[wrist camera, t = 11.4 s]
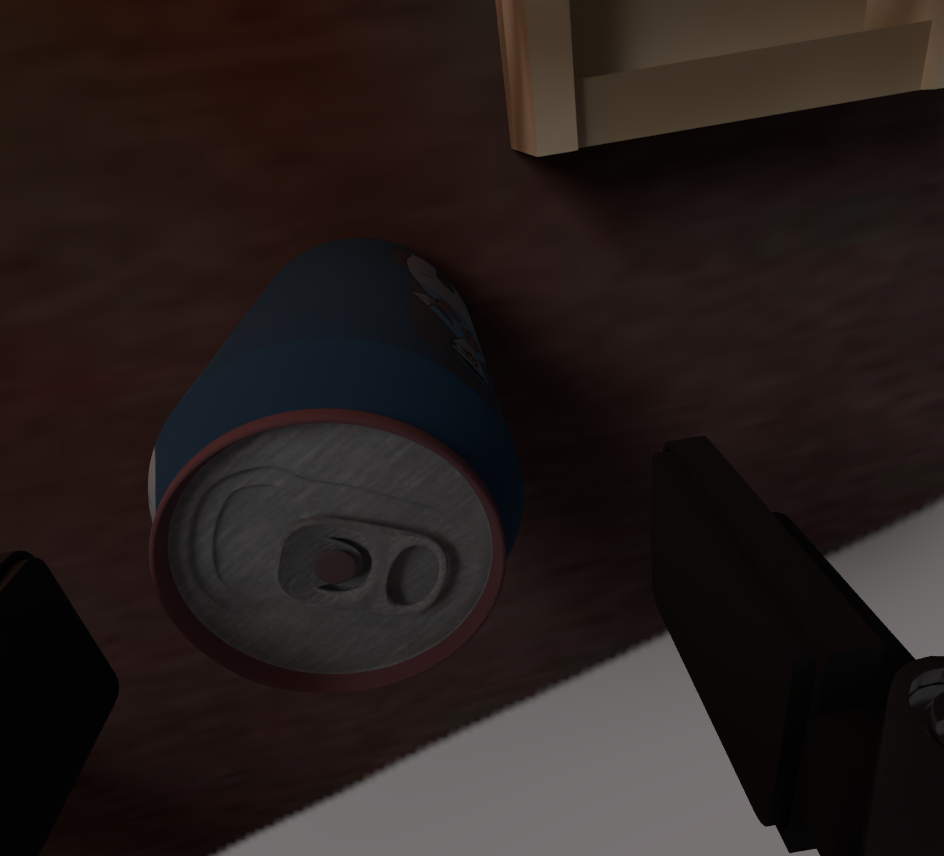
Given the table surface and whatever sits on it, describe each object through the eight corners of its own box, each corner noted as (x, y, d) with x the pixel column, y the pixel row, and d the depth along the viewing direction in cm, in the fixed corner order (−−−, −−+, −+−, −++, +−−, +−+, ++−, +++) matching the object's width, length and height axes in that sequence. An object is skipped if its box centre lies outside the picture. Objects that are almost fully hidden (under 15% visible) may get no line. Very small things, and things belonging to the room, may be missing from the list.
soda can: (249, 406, 21) (99, 698, 11) (277, 203, 18) (109, 326, 8) (441, 444, 23) (478, 733, 12) (495, 262, 20) (604, 432, 9)
